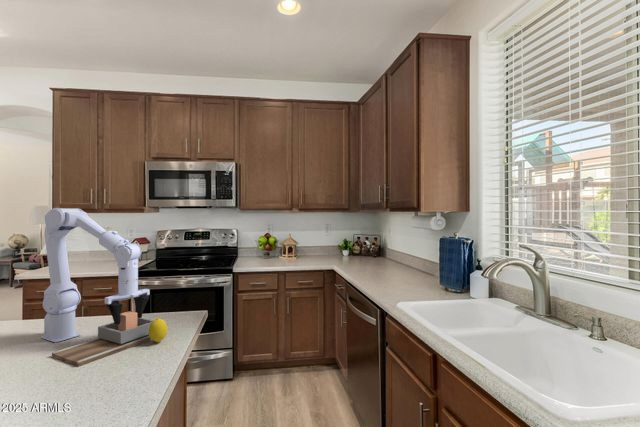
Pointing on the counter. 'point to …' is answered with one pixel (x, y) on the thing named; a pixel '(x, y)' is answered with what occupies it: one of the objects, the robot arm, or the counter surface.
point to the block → (128, 320)
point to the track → (94, 350)
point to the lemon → (157, 330)
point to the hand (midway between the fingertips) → (128, 320)
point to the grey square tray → (121, 337)
